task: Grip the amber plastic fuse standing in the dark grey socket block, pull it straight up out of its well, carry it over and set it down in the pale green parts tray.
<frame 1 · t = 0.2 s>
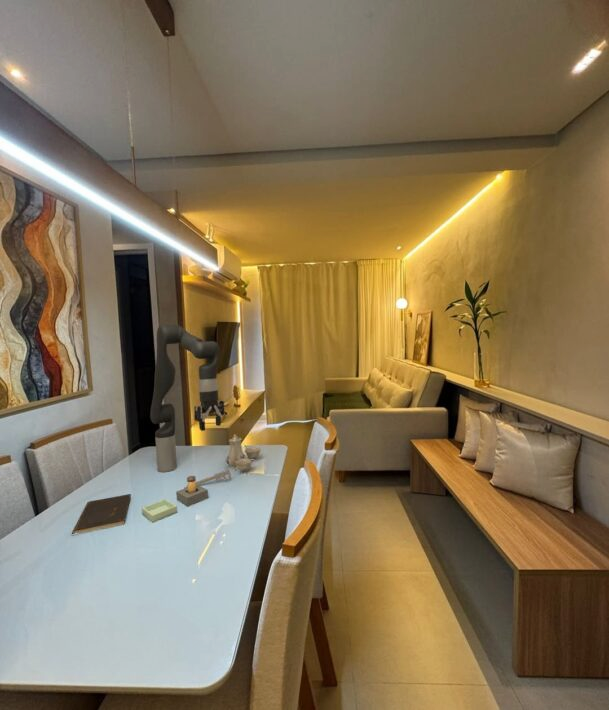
hand: (210, 427, 144), 28 cm above the table, fingers open, 8 cm apart
chinaware: (242, 465, 177), on the table
socket block: (192, 499, 141), on the table
parts tray: (159, 513, 130), on the table
hardcover book: (104, 516, 131), on the table
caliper: (208, 485, 155), on the table
fuse: (191, 488, 140), in the socket block
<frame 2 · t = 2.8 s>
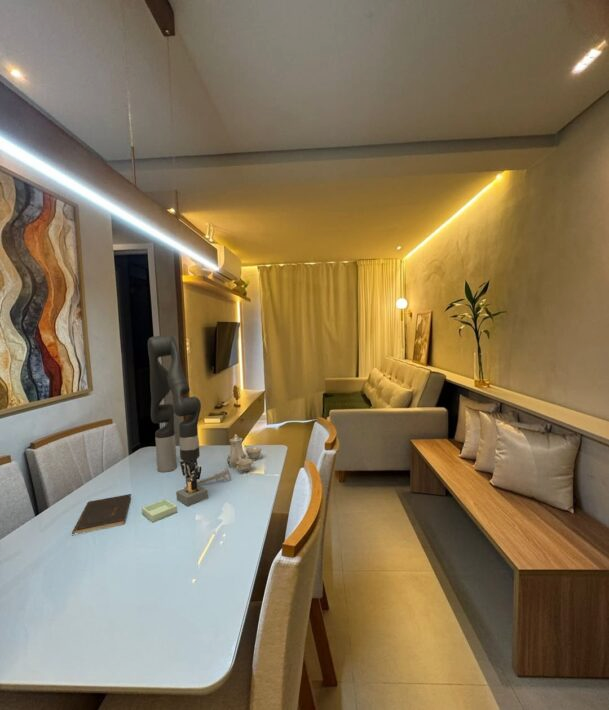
hand: (191, 487, 140), 5 cm above the table, fingers closed on fuse, 3 cm apart
fuse: (191, 488, 140), in the socket block, touching gripper
everything else where it was.
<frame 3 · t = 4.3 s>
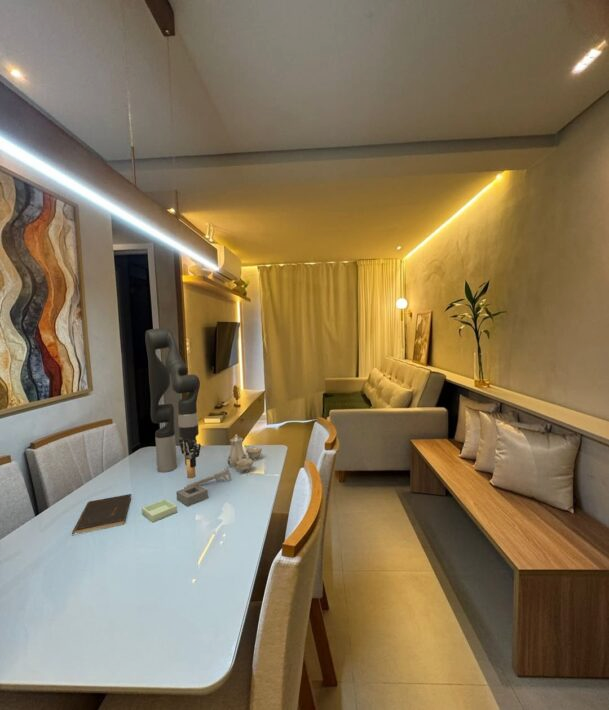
hand: (190, 465, 140), 14 cm above the table, fingers closed on fuse, 3 cm apart
fuse: (190, 466, 140), point 14 cm above the table, touching gripper
everything else where it was.
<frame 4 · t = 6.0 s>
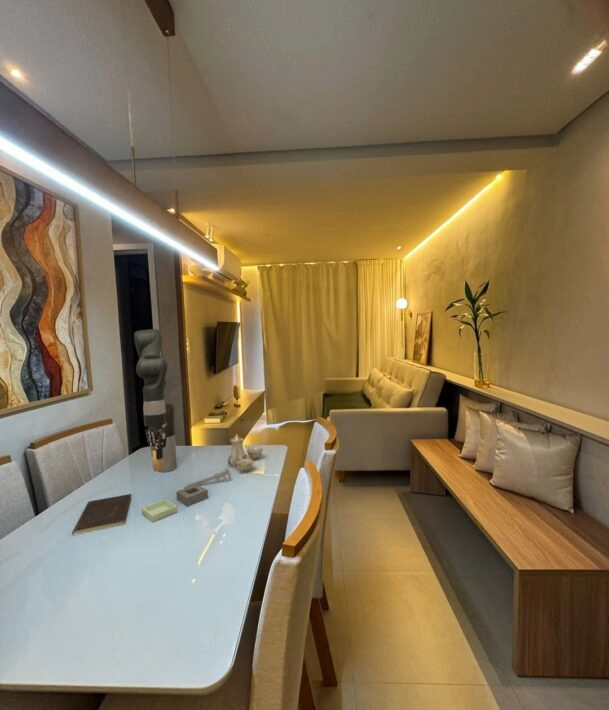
hand: (157, 457, 129), 21 cm above the table, fingers closed on fuse, 3 cm apart
fuse: (157, 457, 129), point 21 cm above the table, touching gripper
everything else where it was.
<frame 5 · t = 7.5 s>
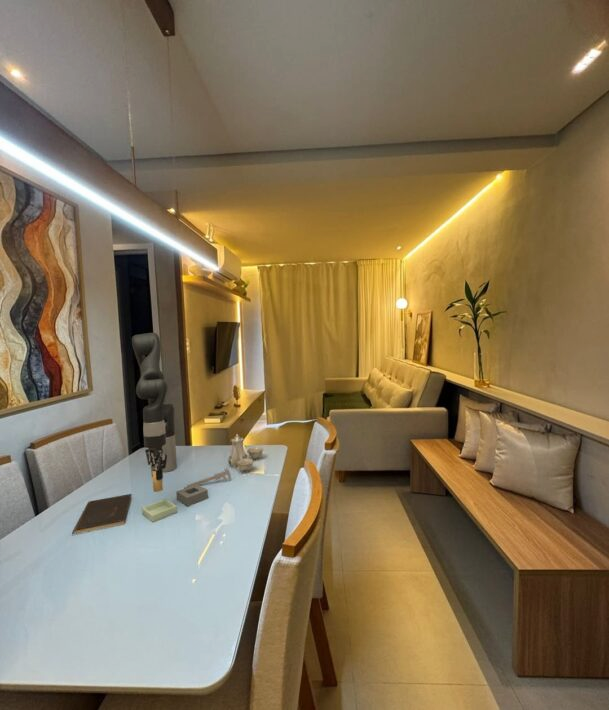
hand: (157, 477, 129), 14 cm above the table, fingers closed on fuse, 3 cm apart
fuse: (157, 478, 129), point 14 cm above the table, touching gripper
when the fingers open (7 cm above the table, at t = 9.1 s): fuse drops 1 cm, resting on parts tray.
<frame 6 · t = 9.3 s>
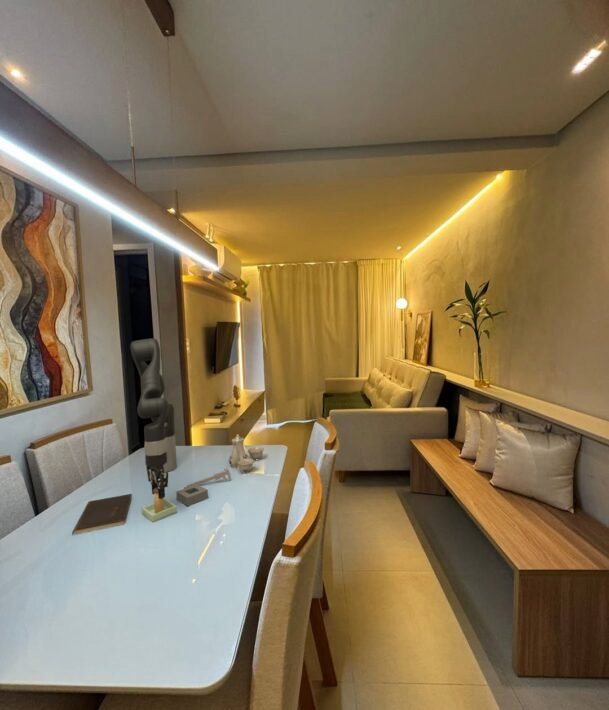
hand: (158, 495, 129), 7 cm above the table, fingers open, 5 cm apart
fuse: (158, 500, 130), in the parts tray
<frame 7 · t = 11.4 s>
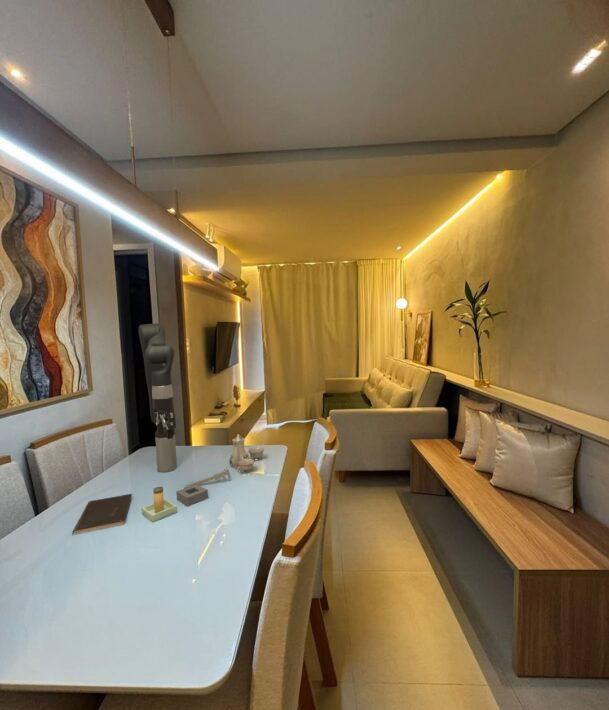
hand: (165, 436, 137), 27 cm above the table, fingers open, 8 cm apart
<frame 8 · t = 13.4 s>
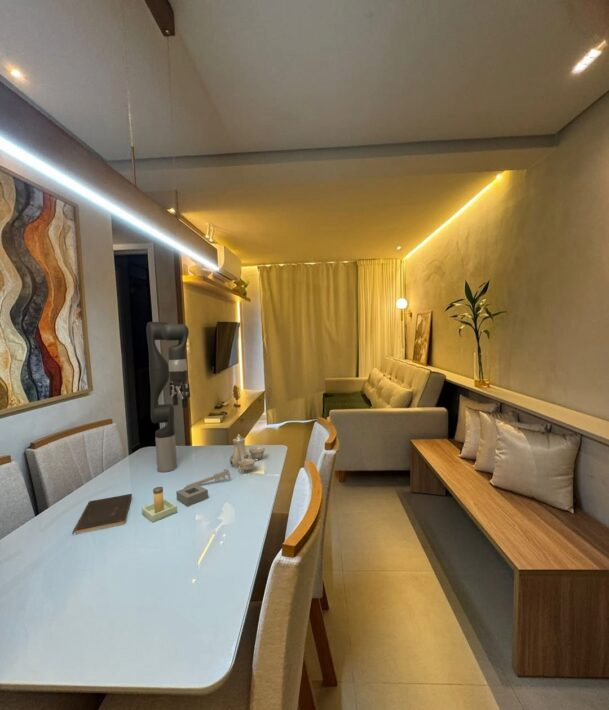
hand: (180, 406, 151), 36 cm above the table, fingers open, 8 cm apart
at the end: fuse inside the target area on the parts tray (0.2 cm from its centre), point 5.0 cm above the parts tray's base; the gripper is holding nothing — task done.
